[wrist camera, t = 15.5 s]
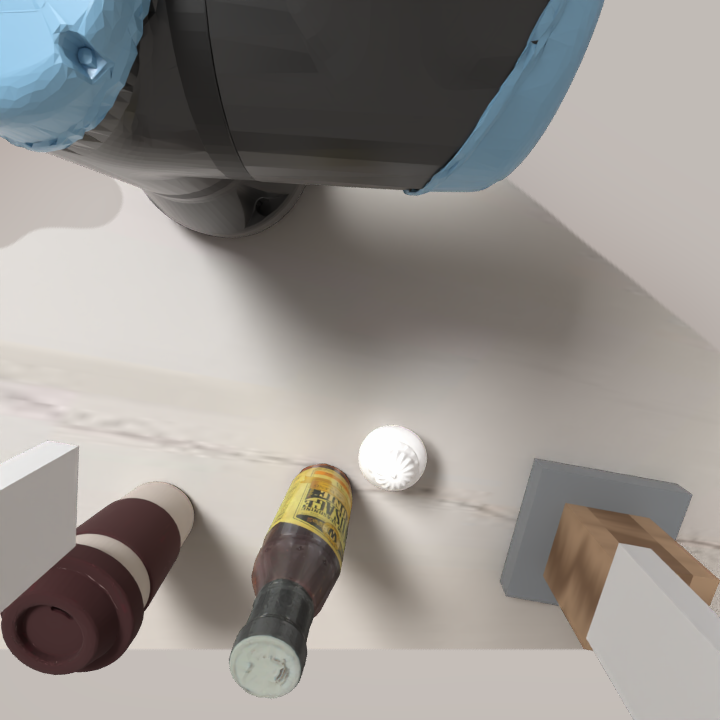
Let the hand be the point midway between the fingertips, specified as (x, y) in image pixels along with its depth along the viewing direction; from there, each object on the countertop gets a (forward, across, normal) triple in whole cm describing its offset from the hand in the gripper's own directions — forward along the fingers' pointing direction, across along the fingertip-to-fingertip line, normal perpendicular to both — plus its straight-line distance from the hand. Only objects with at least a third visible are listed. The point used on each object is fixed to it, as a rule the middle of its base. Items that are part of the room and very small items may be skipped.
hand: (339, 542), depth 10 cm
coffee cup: (+29, -18, -21) cm, 40 cm away
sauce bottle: (+29, -2, -15) cm, 33 cm away
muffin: (+29, +4, -9) cm, 31 cm away
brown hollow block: (+27, +25, -15) cm, 39 cm away
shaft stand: (+29, +25, -15) cm, 41 cm away
